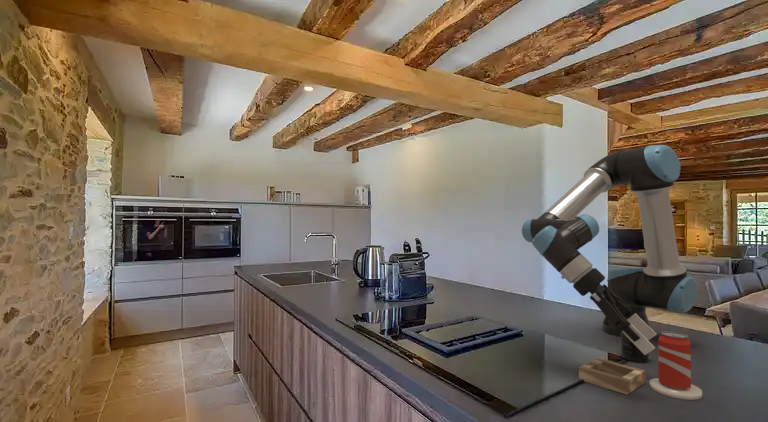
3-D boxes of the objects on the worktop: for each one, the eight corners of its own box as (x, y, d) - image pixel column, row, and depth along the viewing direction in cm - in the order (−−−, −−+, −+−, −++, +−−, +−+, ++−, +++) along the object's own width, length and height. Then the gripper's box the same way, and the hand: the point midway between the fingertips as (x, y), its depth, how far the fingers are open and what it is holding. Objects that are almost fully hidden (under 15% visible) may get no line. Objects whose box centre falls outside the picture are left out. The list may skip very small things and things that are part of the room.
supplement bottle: (653, 364, 113) (653, 320, 113) (626, 362, 114) (626, 319, 115) (643, 356, 120) (642, 315, 120) (617, 354, 121) (617, 313, 121)
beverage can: (698, 389, 93) (697, 336, 94) (676, 392, 92) (676, 338, 92) (672, 379, 99) (672, 330, 99) (652, 382, 97) (652, 331, 98)
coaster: (658, 378, 102) (658, 374, 102) (707, 392, 94) (707, 387, 94) (643, 388, 96) (642, 384, 96) (694, 404, 88) (694, 399, 88)
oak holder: (598, 369, 108) (598, 358, 108) (645, 382, 100) (645, 370, 100) (578, 379, 101) (578, 367, 101) (627, 394, 93) (627, 381, 93)
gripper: (580, 279, 119) (641, 340, 110) (561, 291, 98) (634, 367, 89) (600, 262, 116) (665, 324, 107) (585, 271, 95) (663, 348, 86)
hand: (651, 344), depth 98 cm, fingers open, 13 cm apart
